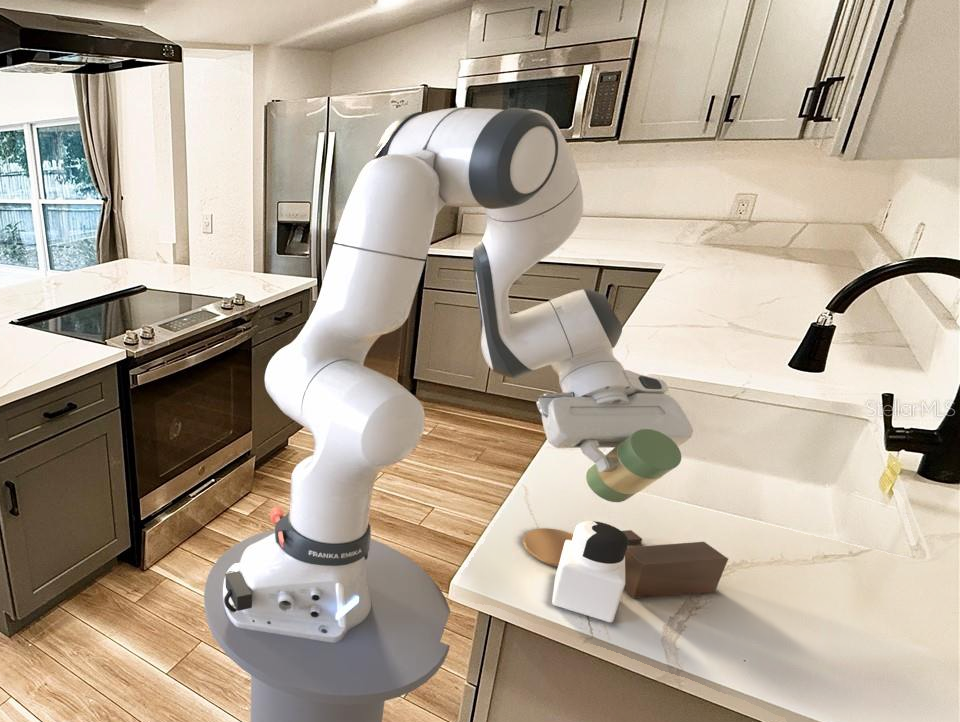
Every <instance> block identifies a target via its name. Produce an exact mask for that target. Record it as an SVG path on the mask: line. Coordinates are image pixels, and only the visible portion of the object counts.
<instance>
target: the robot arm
mask: <svg viewBox="0 0 960 722" xmlns="http://www.w3.org/2000/svg"><path fill="white" fill-rule="evenodd" d="M444 207H452V208H453V207H454V208H483V209H484V213H485V215H486V226H485V231H484V233H483V236H482V238H481V240H479V242H478V243H477V244H476V246H474V248H473V253H472V268H473V277H474V285H475V292H476V299H477V300H476V301H477V306H478V314H479V321H480V334H481V337H480V344H481V345H480V347H481V352H482V355H483V358H484V360H485V363H486V364H487V366H488V367H489V368H490V369H491V370H492V373H495V374H497V375H500V376H503V377H507V378H511V379H517V378H520V377H523V376H524V375H527V374H529V373H532V372H534V371H536V370H538V369H541V368H544V367H547V366H551V368H552V370H554V372H555V373H556V375H557V376H558V382H559V388H560V389H561V391H562V392H544V393H542V394H541V395H539V396H538V397H537V399H536V402H535V403H536V407H537V409H538V411H539V413H540V414H541V422H542V426H543V430H544V434H545V437H546V441H547V442H548V444H550V445H551V446H553V448H555V449H580V451H581V453H582V454H583V455H584V456H585V457H586V458H588V459H589V460H590V461H591V462H593V463H594V464H596V466H597V468H598V470H599V472H612V470H614V469H615V468H616V465H615V463H614V460H613V458H612V457H606V456H605V455H606V454H604V452H603V451H601V450H600V449H601V448H602V449H604V448H605V449H607V448H608V449H610V448H611V449H614V448H615V447H616V446H618V445H619V444H620V443H622V442H623V441H625V440H626V439H627V438H628V437H630V436H631V435H632V434H633V433H635V432H636V431H638V430H642V429H651V430H655V431H658V432H661V433H663V434H665V435H666V436H668V437H669V438H670V439H671V440H673V441H674V442H675V444H676V445H677V446H678V447H680V446H681V445H683V444H685V443H686V442H688V441H689V440H690V439H691V438H692V436H693V433H694V428H693V426H692V424H691V422H690V420H689V418H688V417H687V415H686V414H685V412H684V410H683V409H682V407H681V406H680V404H679V403H678V402H677V400H676V399H675V398H674V397H672V396H671V395H668V394H666V393H667V392H668V391H669V386H668V384H667V383H666V382H665V381H664V379H660V378H656V377H651V376H647V375H644V374H639V373H637V372H634V371H632V370H628V369H625V368H624V366H623V364H622V363H621V361H619V360H617V358H616V357H615V355H614V352H613V351H614V350H613V349H615V347H616V346H617V344H618V342H619V339H620V337H621V336H622V333H623V326H622V323H621V321H620V319H619V317H618V316H617V314H616V313H615V311H614V309H613V308H612V307H611V305H610V303H609V300H608V298H607V296H606V295H605V294H603V293H601V292H598V291H595V290H592V289H588V288H582V289H578V290H574V291H571V292H569V293H566V294H563V295H561V296H557V297H555V298H552V299H550V300H548V301H545V302H542V303H539V304H538V305H535V306H532V307H529V308H527V309H524V310H521V311H519V312H515V313H511V311H510V302H509V290H510V288H511V287H512V285H513V284H514V283H515V282H516V281H517V280H518V279H519V278H520V277H521V276H522V275H523V274H524V273H526V272H527V271H528V270H530V269H531V268H532V267H534V266H535V265H536V264H538V263H540V262H541V261H542V260H543V259H545V258H546V257H549V255H551V254H553V253H555V251H557V250H558V249H559V248H561V247H562V246H563V245H564V244H565V243H566V242H567V241H568V239H569V238H570V237H571V236H572V235H573V233H574V232H575V230H577V227H578V225H579V224H580V222H581V219H582V217H583V212H584V196H583V190H582V184H581V180H580V177H579V172H578V170H577V165H576V162H575V160H574V157H573V154H572V152H571V150H570V147H569V144H568V142H567V140H566V139H565V137H564V135H563V133H562V131H561V130H560V128H559V126H558V124H557V123H556V122H555V120H554V118H552V116H551V115H549V114H548V113H546V112H545V111H542V110H538V109H533V108H532V109H526V108H519V107H509V108H505V109H501V108H481V107H479V108H473V107H471V106H470V107H469V106H462V107H451V108H445V109H438V110H433V111H426V110H425V111H424V110H423V111H417V112H414V113H413V112H412V113H411V114H408V115H405V116H403V117H401V118H399V119H396V120H395V121H394V122H393V123H392V124H391V125H389V127H388V128H387V129H386V130H385V131H384V133H383V135H382V137H381V138H380V140H379V142H378V144H377V146H376V149H375V152H374V156H373V159H372V160H371V161H369V162H368V163H366V165H365V166H364V167H363V168H362V169H361V171H360V172H359V174H358V175H357V178H356V181H355V183H354V184H353V187H352V189H351V192H350V194H349V196H348V198H347V201H346V203H345V207H344V208H343V212H342V215H341V217H340V220H339V223H338V227H337V230H336V232H335V233H336V234H335V237H334V240H333V245H332V247H331V252H330V255H329V259H328V263H327V267H326V270H325V274H324V276H323V277H324V278H323V281H322V284H321V288H320V290H319V291H320V292H319V295H318V298H317V300H316V303H315V305H314V307H313V310H312V312H311V314H310V315H309V317H308V319H307V321H306V323H305V324H304V326H303V328H302V329H301V331H300V332H299V333H298V334H297V336H296V337H295V338H294V339H293V341H292V342H290V343H289V344H286V345H285V346H284V347H282V348H280V349H279V350H278V351H276V352H275V354H274V355H272V357H271V359H270V360H269V362H268V363H267V366H266V369H265V373H264V386H265V390H266V392H267V394H268V395H269V397H270V398H271V400H272V401H273V402H274V404H275V405H276V406H277V407H278V408H279V410H280V411H282V413H283V414H284V415H286V416H287V417H289V418H290V419H291V420H293V421H294V422H296V423H297V424H299V425H301V426H302V427H303V428H305V429H306V430H308V431H309V432H310V433H311V436H312V437H313V440H314V449H313V454H311V455H309V456H307V457H305V458H304V459H302V460H301V461H300V462H299V463H297V465H296V466H295V467H294V468H293V469H292V473H291V476H290V496H289V498H290V500H289V511H288V512H287V514H285V515H284V511H283V509H282V508H281V507H278V506H276V507H273V508H271V509H270V511H269V516H270V521H271V523H272V524H274V525H275V526H274V530H275V533H273V534H271V535H269V536H267V537H265V538H263V539H261V540H259V541H257V542H255V543H253V544H251V545H249V546H248V547H247V548H246V549H245V551H244V552H243V554H242V557H241V559H240V563H236V564H233V565H232V566H231V567H230V568H229V570H228V571H227V573H226V574H225V579H224V584H223V603H224V608H225V611H226V613H227V615H228V617H229V619H230V620H231V622H232V623H233V624H234V625H235V626H236V627H238V628H243V629H249V630H255V631H262V632H268V633H274V634H281V635H287V636H293V637H300V638H306V639H312V640H319V641H325V642H332V643H336V642H339V641H340V640H341V639H342V638H343V637H344V636H345V634H346V632H347V631H348V630H349V629H350V628H352V627H354V626H356V625H358V624H359V623H361V622H362V621H363V620H364V619H365V618H366V617H367V616H368V614H369V612H370V609H371V598H370V594H369V590H368V585H367V578H366V560H367V558H368V551H369V550H370V541H371V539H372V530H371V524H370V523H369V522H370V521H369V519H370V512H371V503H372V496H373V490H374V485H375V483H376V481H377V478H378V476H379V474H380V473H381V471H382V470H383V469H384V468H386V467H391V466H393V465H396V464H398V463H400V462H401V461H403V460H405V459H406V458H407V457H408V456H410V455H411V454H412V453H413V452H414V451H415V450H416V449H417V447H418V445H419V443H420V442H421V440H422V438H423V434H424V430H425V426H426V413H425V409H424V407H423V404H422V402H421V401H420V400H419V399H418V398H417V397H416V396H415V395H414V394H412V393H411V392H410V391H409V390H408V389H407V388H405V387H404V386H403V385H401V383H399V382H398V381H397V380H396V379H394V378H392V377H390V376H388V375H385V374H384V373H382V372H380V371H376V370H375V369H372V368H371V367H368V366H365V363H364V362H365V360H366V357H367V355H368V353H369V351H370V350H371V348H372V346H373V345H374V344H375V342H376V341H377V340H378V339H379V338H380V337H381V336H383V335H387V334H389V333H392V332H394V331H396V330H398V329H400V328H401V327H402V326H403V325H404V324H405V322H406V321H407V320H408V318H409V316H410V312H411V309H412V306H413V303H414V300H415V296H416V293H417V289H418V287H419V284H420V281H421V277H422V273H423V270H424V268H425V264H426V260H427V257H428V255H429V251H430V250H429V249H430V247H431V243H432V239H433V235H434V229H435V226H436V225H435V224H436V220H437V216H438V214H439V213H440V211H441V210H442V209H443V208H444ZM323 632H324V633H323Z"/></svg>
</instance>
